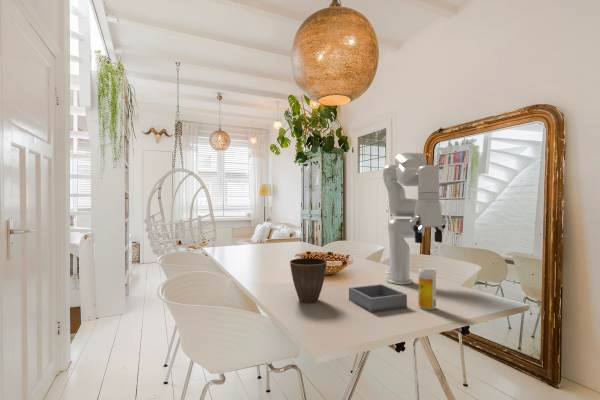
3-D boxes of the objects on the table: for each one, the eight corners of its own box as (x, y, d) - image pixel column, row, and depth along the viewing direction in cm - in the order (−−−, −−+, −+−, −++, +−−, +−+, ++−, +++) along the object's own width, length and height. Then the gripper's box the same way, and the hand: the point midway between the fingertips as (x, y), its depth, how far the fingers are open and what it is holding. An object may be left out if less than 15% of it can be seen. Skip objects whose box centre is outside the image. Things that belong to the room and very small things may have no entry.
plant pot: (304, 309, 119) (304, 266, 119) (282, 299, 131) (282, 260, 131) (334, 302, 128) (334, 262, 128) (311, 293, 140) (311, 256, 140)
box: (348, 299, 131) (348, 287, 131) (381, 295, 136) (381, 284, 136) (371, 312, 116) (371, 298, 116) (406, 307, 122) (406, 294, 122)
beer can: (421, 304, 126) (421, 266, 126) (437, 307, 122) (437, 268, 122) (416, 308, 121) (416, 268, 121) (432, 311, 117) (433, 271, 117)
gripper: (438, 198, 129) (438, 240, 129) (403, 197, 123) (403, 242, 122) (453, 197, 122) (453, 242, 122) (417, 197, 116) (417, 244, 115)
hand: (428, 242), depth 122 cm, fingers open, 9 cm apart
